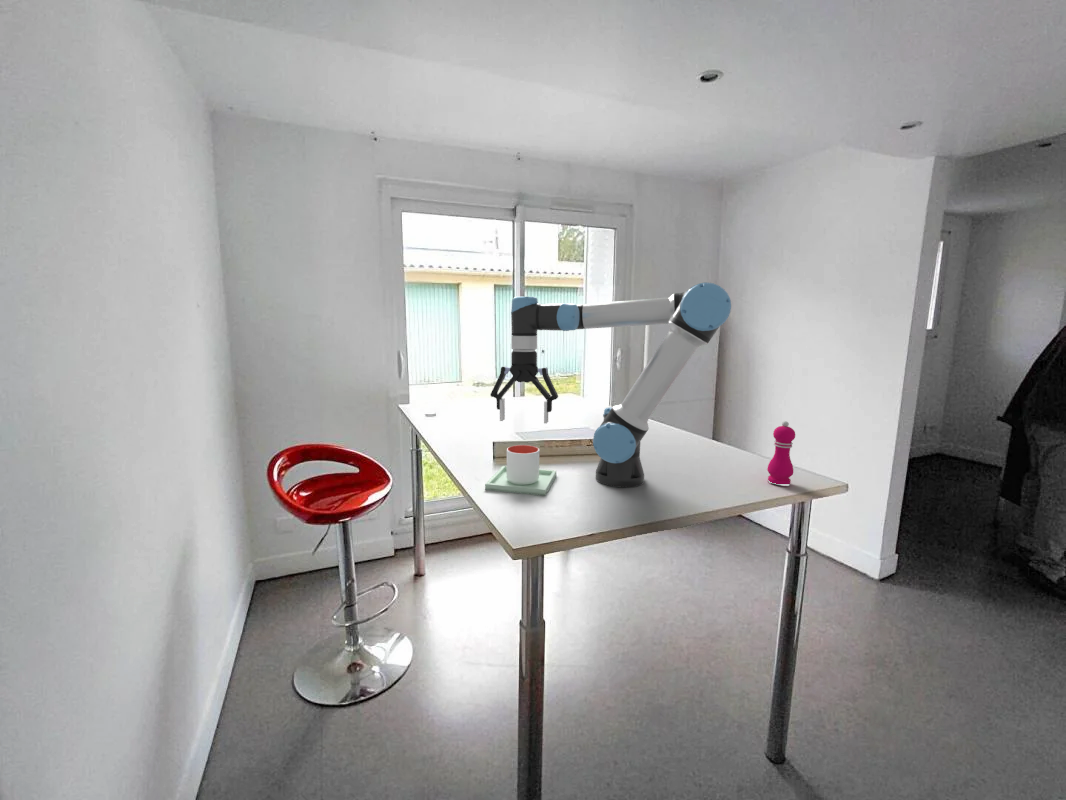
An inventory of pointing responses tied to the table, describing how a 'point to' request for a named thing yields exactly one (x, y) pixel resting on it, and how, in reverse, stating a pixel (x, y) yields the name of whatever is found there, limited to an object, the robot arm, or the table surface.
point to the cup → (522, 464)
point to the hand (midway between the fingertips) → (523, 421)
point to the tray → (538, 488)
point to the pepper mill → (781, 455)
